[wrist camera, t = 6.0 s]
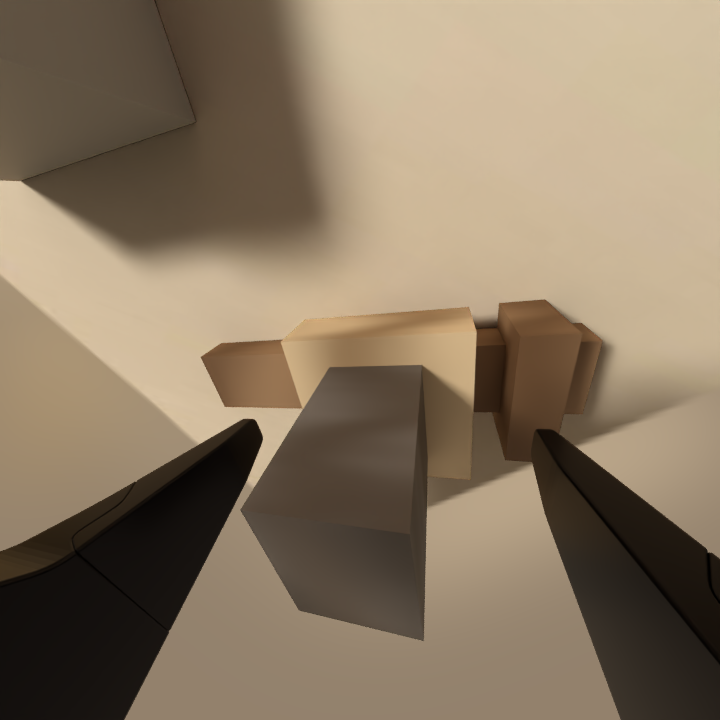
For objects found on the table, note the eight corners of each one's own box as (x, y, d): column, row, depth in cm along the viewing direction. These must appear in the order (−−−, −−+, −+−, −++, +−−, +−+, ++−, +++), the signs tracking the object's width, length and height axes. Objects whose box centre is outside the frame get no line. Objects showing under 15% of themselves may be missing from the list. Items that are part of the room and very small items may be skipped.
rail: (587, 296, 10) (642, 331, 7) (561, 409, 12) (596, 465, 9) (213, 325, 14) (164, 353, 11) (247, 404, 16) (213, 441, 14)
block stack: (468, 307, 9) (532, 503, 3) (465, 440, 12) (496, 675, 6) (304, 319, 11) (148, 465, 5) (335, 434, 14) (260, 614, 8)
